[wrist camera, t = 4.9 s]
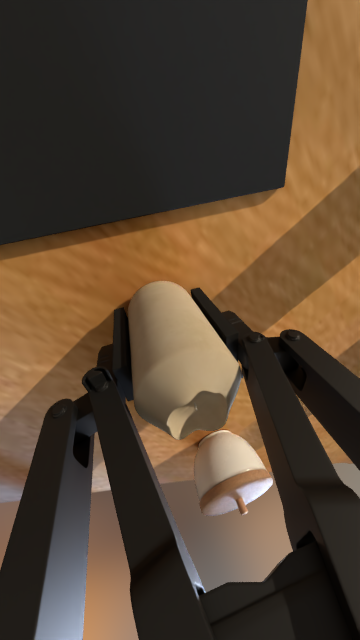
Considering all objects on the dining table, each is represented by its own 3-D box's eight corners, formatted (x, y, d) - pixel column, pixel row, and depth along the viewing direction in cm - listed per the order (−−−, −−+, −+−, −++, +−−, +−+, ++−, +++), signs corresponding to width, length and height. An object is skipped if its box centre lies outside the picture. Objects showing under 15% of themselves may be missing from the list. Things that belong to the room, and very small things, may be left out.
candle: (204, 303, 18) (278, 398, 9) (164, 346, 19) (199, 461, 11) (156, 265, 15) (203, 353, 6) (113, 318, 16) (108, 446, 8)
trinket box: (173, 447, 31) (191, 531, 23) (231, 412, 30) (271, 487, 22) (202, 463, 37) (224, 533, 29) (251, 434, 36) (287, 499, 28)
